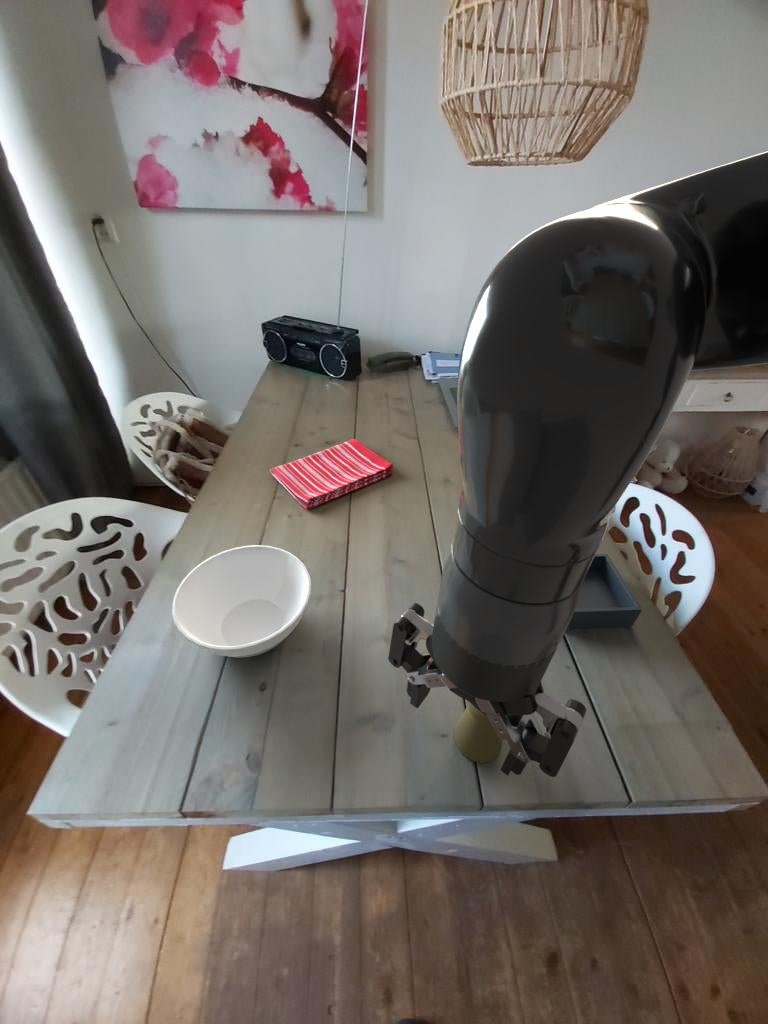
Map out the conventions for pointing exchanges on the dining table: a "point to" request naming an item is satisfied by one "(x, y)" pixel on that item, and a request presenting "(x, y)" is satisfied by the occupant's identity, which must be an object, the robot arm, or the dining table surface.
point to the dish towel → (332, 473)
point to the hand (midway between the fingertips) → (462, 729)
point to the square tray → (604, 598)
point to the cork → (476, 736)
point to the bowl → (242, 600)
